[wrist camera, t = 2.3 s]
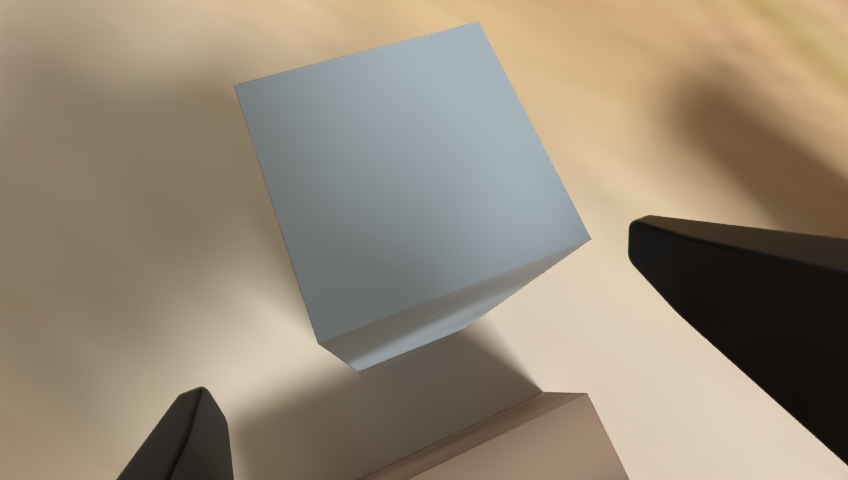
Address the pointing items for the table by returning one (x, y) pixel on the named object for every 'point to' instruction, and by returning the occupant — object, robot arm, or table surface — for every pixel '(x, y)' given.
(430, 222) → the slate block
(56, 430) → the table surface
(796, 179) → the table surface
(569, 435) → the walnut plinth
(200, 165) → the table surface
